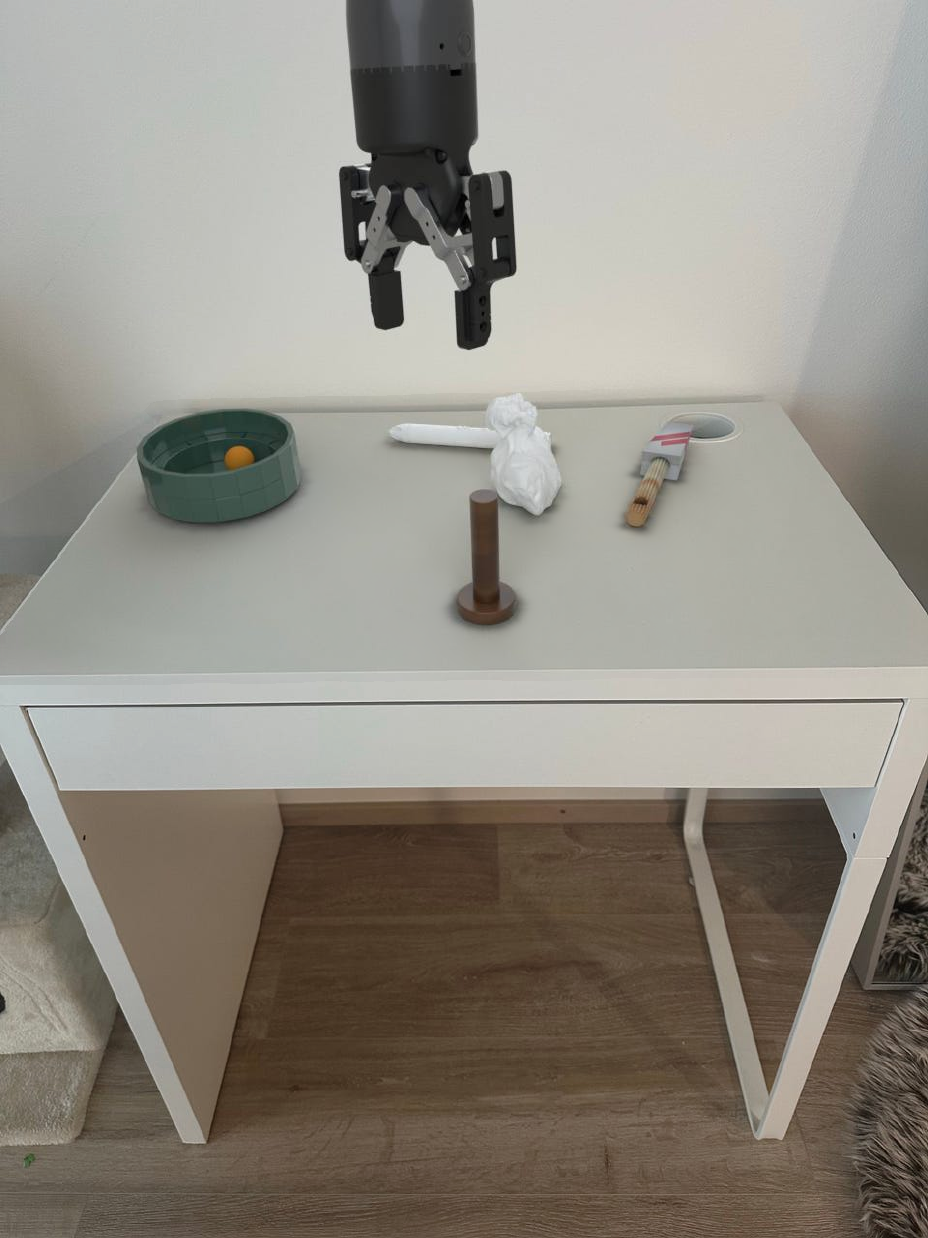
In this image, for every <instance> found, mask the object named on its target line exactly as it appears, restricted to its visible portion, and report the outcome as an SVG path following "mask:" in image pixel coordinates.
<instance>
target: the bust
mask: <svg viewBox="0 0 928 1238" xmlns="http://www.w3.org/2000/svg"><path fill="white" fill-rule="evenodd" d="M538 414H539V413H538V410H537V406H536V405H533V404H532V403H531V402H530V401H528V400H526V401H525V399H524V397H523V394H522V393H520V392H519V393H516V394H515V393H513V394H512V395H511V394H510V395H508V396H498V397H495V398H493V399H492V400H491V401H490V402H489V404H488V406H487V408H486V409H485V413H484V416H483V423H484V426H485V427H487V428H488V429H489V430H491V431H496V432H497V433H498V435H499V436H500V438H501V440H500V442H499V443H498V445H497V446H496V447H495V448H494V449H493V450H492V451H491V454H490V461H491V462H490V463H491V464H490V465H491V466H490V467H491V470H490V479H491V483H492V485H493V486H494V488H495V490H496V493H497V494H498V497H500V498H501V500H503V501H504V502H505V503H507V504H509V505H512V506H519V507H522V508H523V509H525V510H526V511H527V512H528V513H531V514H532V515H533V516H541V515H542V514H543V512H544V511H545V509H547V508H550V507H551V506H552V504H553V501H554V499H555V498H556V496H557V495H558V492H559V490H560V489H561V486H562V481H563V479H562V475H561V473H560V470H559V467H558V464H557V461H556V459H555V456H554V454H553V452H552V445H551V446H550V444H549V441H548V438H547V436H546V435H545V434H544V432H545V431H544V430H543V429H542V428H540V427H539V426H537V419H538Z"/></svg>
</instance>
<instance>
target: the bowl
mask: <svg viewBox="0 0 928 1238" xmlns="http://www.w3.org/2000/svg"><path fill="white" fill-rule="evenodd" d="M292 425H293V424H292V423H291V422H289V421H288V420H287V419H286V418H284V417H283V416H281V415H278V414H275V413H272V412H269V411H266V410H260V409H254V408H253V409H252V408H220V409H213V410H205V411H199V412H196V413H192V414H189V415H185V416H181V417H177V418H175V419H173V420H172V419H171V420H169V421H168V422H166V423H163V424H161V425H158V426H157V427H155V428H154V429H153V430H151V431H149V433H147V434H146V435H145V436H143V438H142V440H141V441H140V442H139V444H138V445H137V447H136V460H137V464H138V467H139V471H140V475H141V478H142V483H143V486H144V489H145V493H146V497H147V501H148V504H149V505H150V506H152V508H153V509H154V510H155V511H156V512H157V513H158V514H161V515H163V516H166V517H167V518H170V519H172V520H176V521H177V520H178V521H183V522H189V523H222V522H227V521H235V520H239V519H244V518H248V517H252V516H254V515H257V514H260V513H262V512H266V511H269V510H271V509H272V508H274V507H276V506H277V505H279V504H281V503H283V502H284V501H286V500H288V498H289V497H290V496H291V495H293V493H294V492H295V491H297V489H298V488H299V486H300V485H299V484H300V481H301V479H302V473H301V466H300V459H299V453H298V446H297V440H296V434H295V431H294V428H293V426H292ZM235 446H243V447H246V448H247V449H249V450H250V451H251V452H252V454H253V456H254V460H255V463H254V464H251V465H248V466H244V467H241V468H238V469H235V470H228V469H227V468H226V465H225V455H226V453H227V452H228V451H229V450H230V449H231V448H233V447H235Z"/></svg>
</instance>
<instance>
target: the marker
mask: <svg viewBox="0 0 928 1238" xmlns="http://www.w3.org/2000/svg"><path fill="white" fill-rule="evenodd" d="M543 432H544V434H545V435H546V436H547V438H548V441H549V444H550V446H551V447H552V437H551V436H552V433H551V432H547V431H543ZM387 433H388V434H389V435H390V436H391V437H392V438H393V439H395V440H397V441H400V442H403V443H408V444H420V445H421V444H422V445H436V446H449V447H464V448H465V447H466V448H478V449H479V448H480V449H493V450H494V448H495V447H496V446H497V445H498V443H499V442H500V440H501V438H500V436H499V435H498V433H497V432H496V431H491V430H489V429H488V428H487V427H486V426H485V427H483V426H481V427H471V426H469V425H468V426H467V425H463V426H462V425H461V424H459V425H457V426H455V425H442V424H441V425H440V424H426V423H425V424H423V423H410V422H409V423H408V422H407V423H401V424H398V425H397V424H396V425H394V426H393V427H391V428H389V430H388V431H387Z"/></svg>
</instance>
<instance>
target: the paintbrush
mask: <svg viewBox="0 0 928 1238" xmlns="http://www.w3.org/2000/svg"><path fill="white" fill-rule="evenodd" d="M693 428H694V424H689V423H683V422H675V421H667V422H665V424H664V425H663V426H662V427H661V429H660V430H659V431H658V432H657V433H656V434H655V435H654V437H653V438H652V439H651V440H650V441H649V442H648V444H647V445H646V446H645V447H644V449H642V451H641V455H642V456H641V457H642V462H641V466H640V471H639V476H643V479H642V481H641V483H640V485H639V487H638V489H637V490H636V493H635V495H634V497H633V499H632V501H631V503H630V505H629V507H628V509H627V511H626V513H625V519H626V520H625V521H626V522H627V524H628V525H630V526H631V527H640V526H644V524H645V523H646V520H647V519H648V516H649V514H650V511H651V509H652V508H653V504H654V502H655V500H656V497H657V495H658V492H659V491H660V488H661V487H662V483H664V479H665V480H672V481H678V479H679V475H680V472H681V469H682V465H683V462H684V458H685V456H686V452H687V448H688V445H689V441H690V438H691V435H692V432H693Z"/></svg>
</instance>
